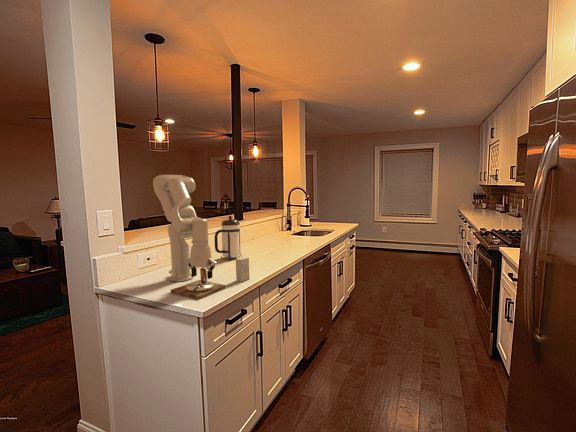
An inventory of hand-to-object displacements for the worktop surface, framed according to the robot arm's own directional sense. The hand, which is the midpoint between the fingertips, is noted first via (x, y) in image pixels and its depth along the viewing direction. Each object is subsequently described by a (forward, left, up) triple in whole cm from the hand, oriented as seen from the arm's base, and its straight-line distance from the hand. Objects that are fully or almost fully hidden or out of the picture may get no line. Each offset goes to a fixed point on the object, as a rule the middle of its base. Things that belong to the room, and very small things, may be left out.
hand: (202, 277), depth 157 cm
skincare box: (+10, +20, -5) cm, 23 cm away
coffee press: (-30, +56, -5) cm, 64 cm away
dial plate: (+2, -4, -5) cm, 7 cm away
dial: (+3, -5, -3) cm, 7 cm away
